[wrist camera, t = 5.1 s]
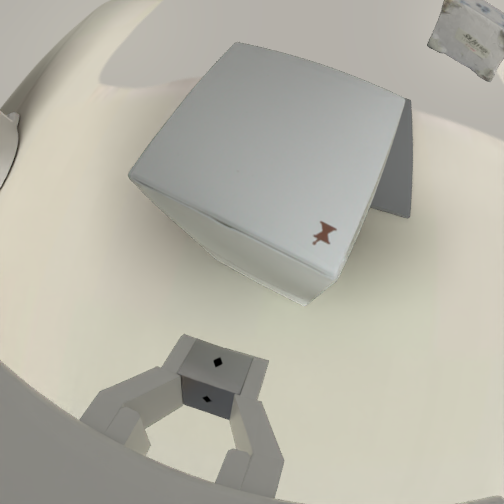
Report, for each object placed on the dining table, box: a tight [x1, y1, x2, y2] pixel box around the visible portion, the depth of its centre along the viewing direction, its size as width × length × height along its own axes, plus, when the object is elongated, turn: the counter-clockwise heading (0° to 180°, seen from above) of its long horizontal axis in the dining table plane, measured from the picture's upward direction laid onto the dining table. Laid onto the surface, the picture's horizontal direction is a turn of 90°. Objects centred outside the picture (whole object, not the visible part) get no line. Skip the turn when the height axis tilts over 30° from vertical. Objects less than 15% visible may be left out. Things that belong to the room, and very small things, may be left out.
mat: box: [370, 98, 413, 218], centre depth 23 cm, size 16×13×1 cm
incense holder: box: [427, 0, 504, 82], centre depth 21 cm, size 10×8×10 cm
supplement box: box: [128, 42, 405, 306], centre depth 15 cm, size 7×7×13 cm
